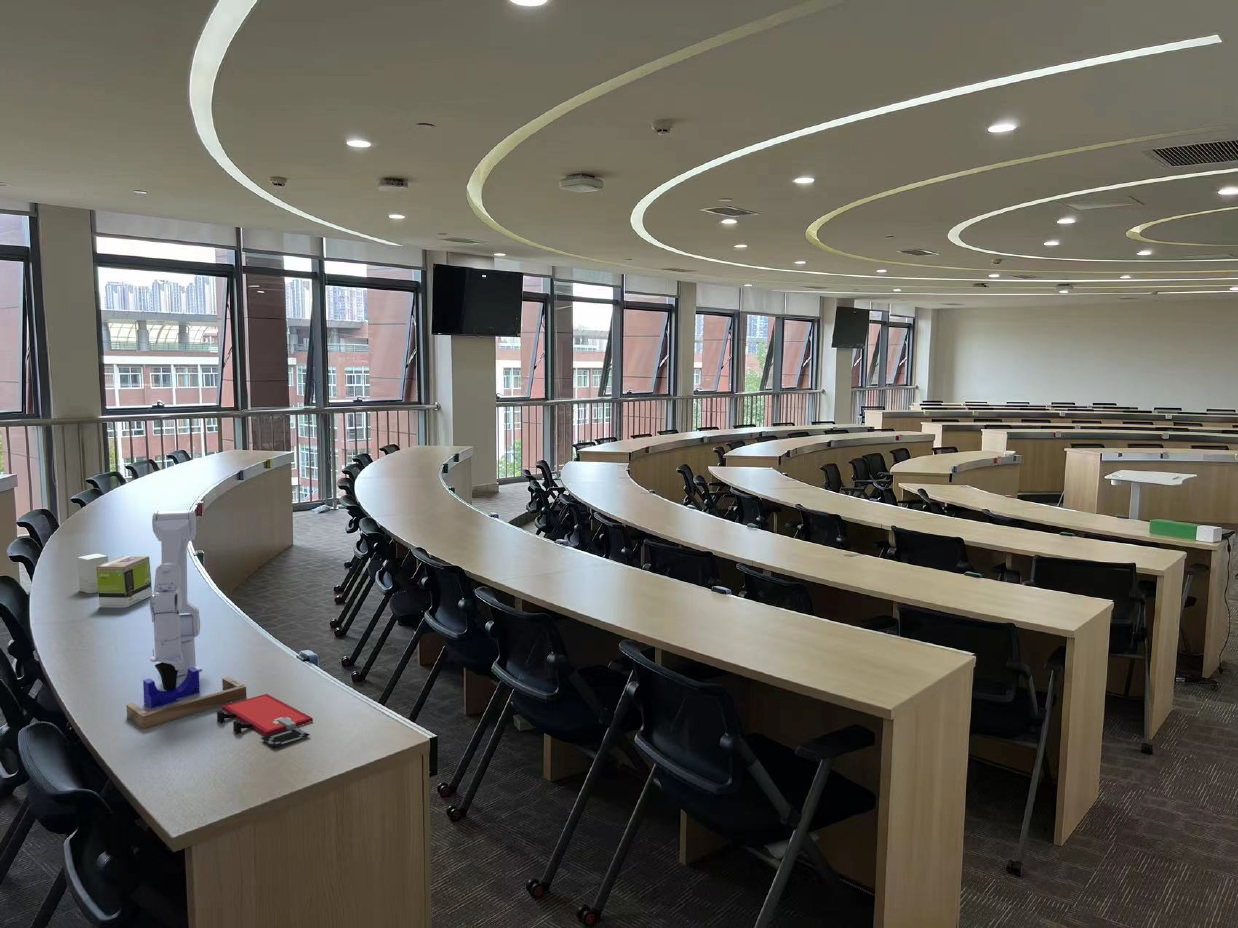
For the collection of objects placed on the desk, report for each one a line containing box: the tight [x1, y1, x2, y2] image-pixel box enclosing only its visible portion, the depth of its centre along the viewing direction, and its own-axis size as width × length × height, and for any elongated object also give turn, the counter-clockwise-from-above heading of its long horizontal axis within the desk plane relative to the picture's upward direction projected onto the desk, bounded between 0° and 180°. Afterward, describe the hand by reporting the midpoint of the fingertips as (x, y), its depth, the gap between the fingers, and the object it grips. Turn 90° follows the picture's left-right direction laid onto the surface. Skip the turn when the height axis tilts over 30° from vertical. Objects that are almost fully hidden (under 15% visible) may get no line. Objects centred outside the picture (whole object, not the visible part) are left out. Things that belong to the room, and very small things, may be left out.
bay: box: [126, 676, 248, 730], centre depth 203 cm, size 10×24×3 cm, turn 140°
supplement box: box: [76, 553, 109, 594], centre depth 303 cm, size 7×7×13 cm
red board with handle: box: [216, 693, 314, 747], centre depth 195 cm, size 30×3×15 cm
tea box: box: [96, 555, 153, 609], centre depth 289 cm, size 15×10×15 cm, turn 178°
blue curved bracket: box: [142, 667, 201, 709], centre depth 207 cm, size 12×4×6 cm, turn 140°
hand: (169, 689), depth 210 cm, fingers closed, pressing on blue curved bracket
